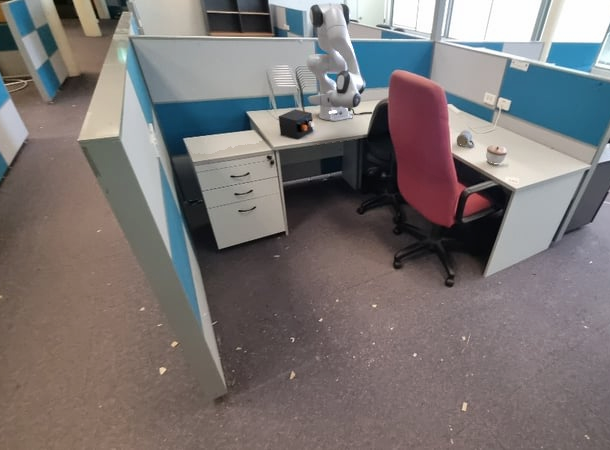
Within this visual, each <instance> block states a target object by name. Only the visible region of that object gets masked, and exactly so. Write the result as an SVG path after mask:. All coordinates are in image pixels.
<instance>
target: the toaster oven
mask: <svg viewBox="0 0 610 450" xmlns="http://www.w3.org/2000/svg"><path fill="white" fill-rule="evenodd" d="M277 118H278V125H279V132H280V133H279V134H280V136H283V137H288V138H291V139H296V140H299V139H301V138H302V137H305V136H306V135H308V134H310V133H312V132H313V131H314V129H313V128H314V126H313V127H309V125H308V124H309V122H310V121H311V122H313V114H312V112H310V111H304V110H301V109H300V110H299V109H292V110H290V111H288V112H285V113H283V114H281V115H278V117H277ZM302 125H307V130H306V131H304V130H302Z"/></svg>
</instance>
